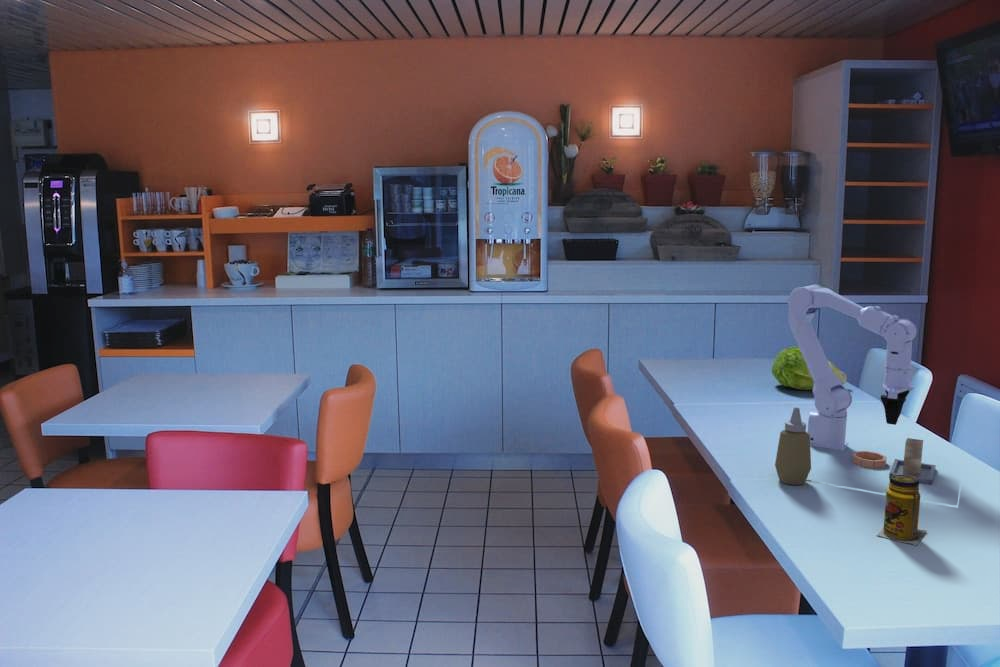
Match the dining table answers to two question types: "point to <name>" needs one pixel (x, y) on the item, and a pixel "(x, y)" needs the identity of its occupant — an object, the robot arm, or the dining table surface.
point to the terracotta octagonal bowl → (869, 459)
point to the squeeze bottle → (793, 451)
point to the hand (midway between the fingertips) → (893, 420)
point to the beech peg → (913, 457)
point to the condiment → (902, 510)
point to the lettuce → (797, 370)
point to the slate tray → (924, 476)
